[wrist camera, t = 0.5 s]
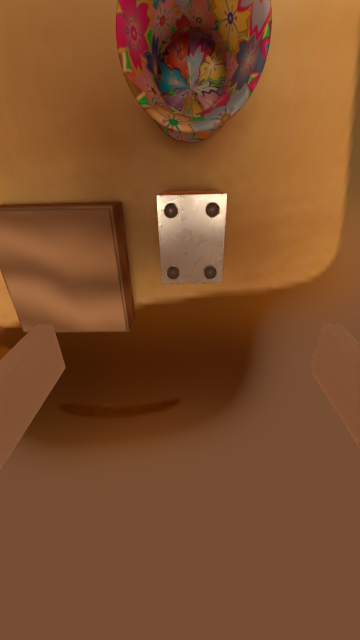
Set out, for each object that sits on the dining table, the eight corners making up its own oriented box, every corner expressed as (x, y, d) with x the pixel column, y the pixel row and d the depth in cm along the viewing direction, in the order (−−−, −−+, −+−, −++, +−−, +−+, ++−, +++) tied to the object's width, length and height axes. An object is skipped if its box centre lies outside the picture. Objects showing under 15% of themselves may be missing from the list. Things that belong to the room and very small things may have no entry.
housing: (164, 191, 29) (156, 195, 22) (217, 190, 29) (227, 194, 21) (167, 261, 33) (161, 285, 25) (214, 260, 33) (222, 284, 25)
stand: (2, 205, 30) (-24, 208, 26) (121, 202, 30) (111, 205, 26) (39, 317, 37) (22, 333, 34) (134, 317, 37) (129, 332, 33)
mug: (238, 144, 27) (264, 126, 17) (149, 151, 27) (129, 137, 18) (244, -34, 21) (289, -204, 12) (131, -20, 21) (87, -173, 12)
